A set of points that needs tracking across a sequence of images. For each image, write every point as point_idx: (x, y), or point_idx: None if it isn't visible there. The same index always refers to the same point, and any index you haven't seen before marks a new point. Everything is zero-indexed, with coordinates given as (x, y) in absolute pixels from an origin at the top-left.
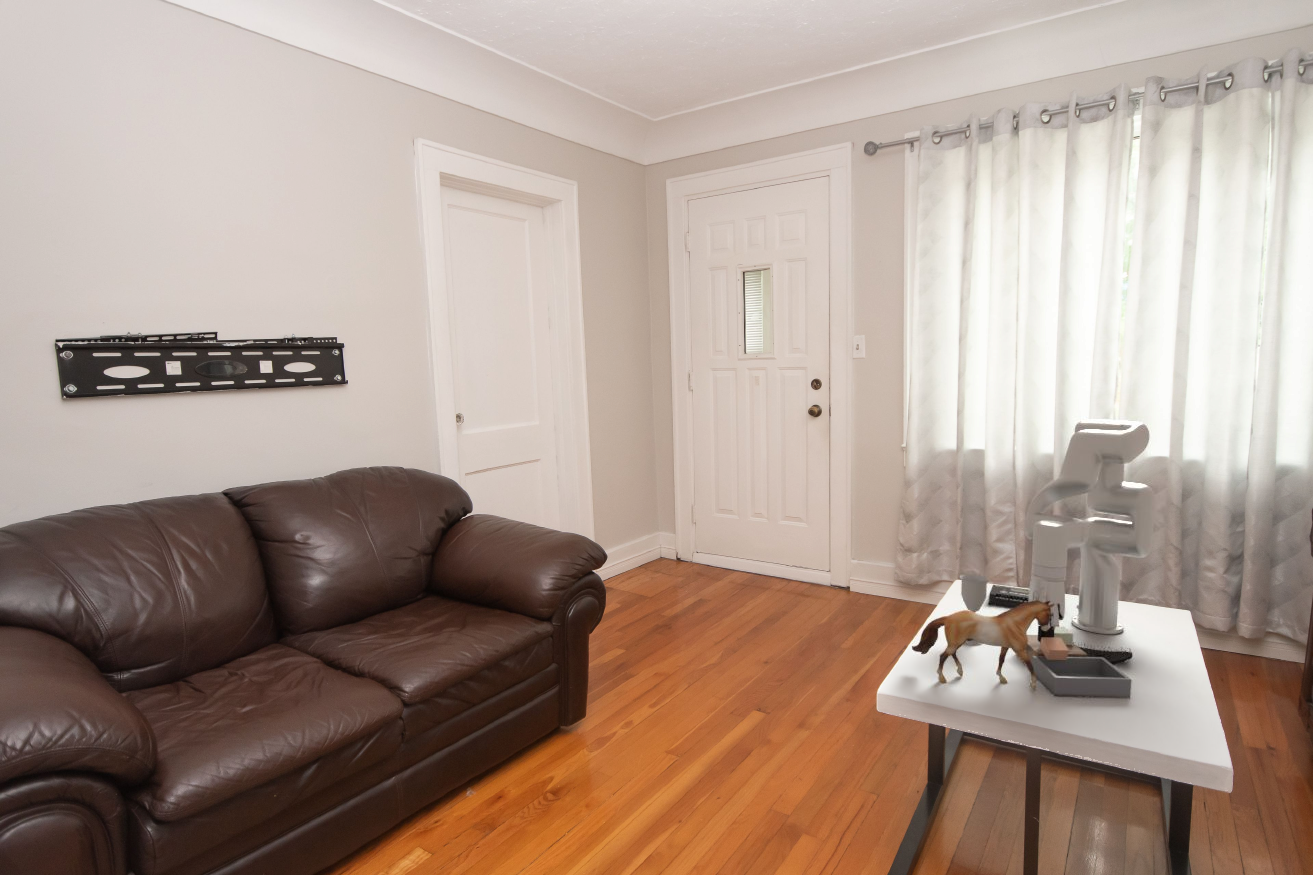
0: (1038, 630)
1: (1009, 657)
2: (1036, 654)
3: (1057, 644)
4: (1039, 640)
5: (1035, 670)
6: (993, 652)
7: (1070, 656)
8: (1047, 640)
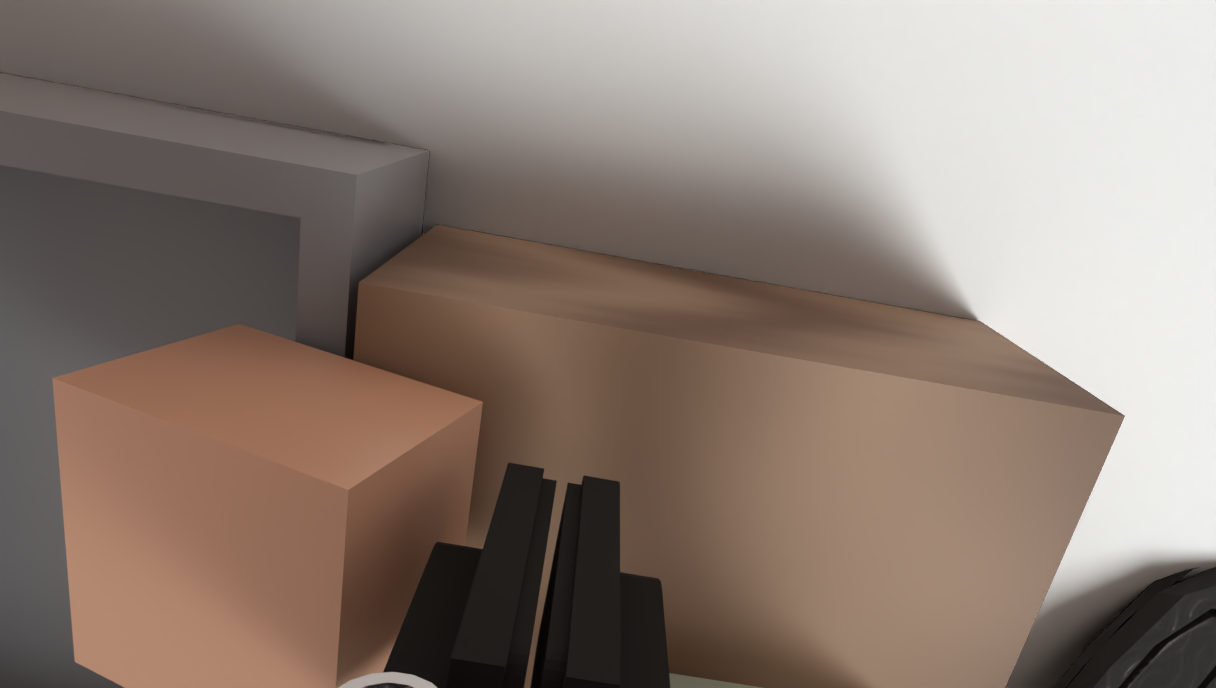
0: (599, 600)
1: (887, 155)
2: (426, 282)
3: (181, 608)
4: (570, 488)
5: (294, 137)
6: (1081, 32)
7: None
8: (269, 527)
